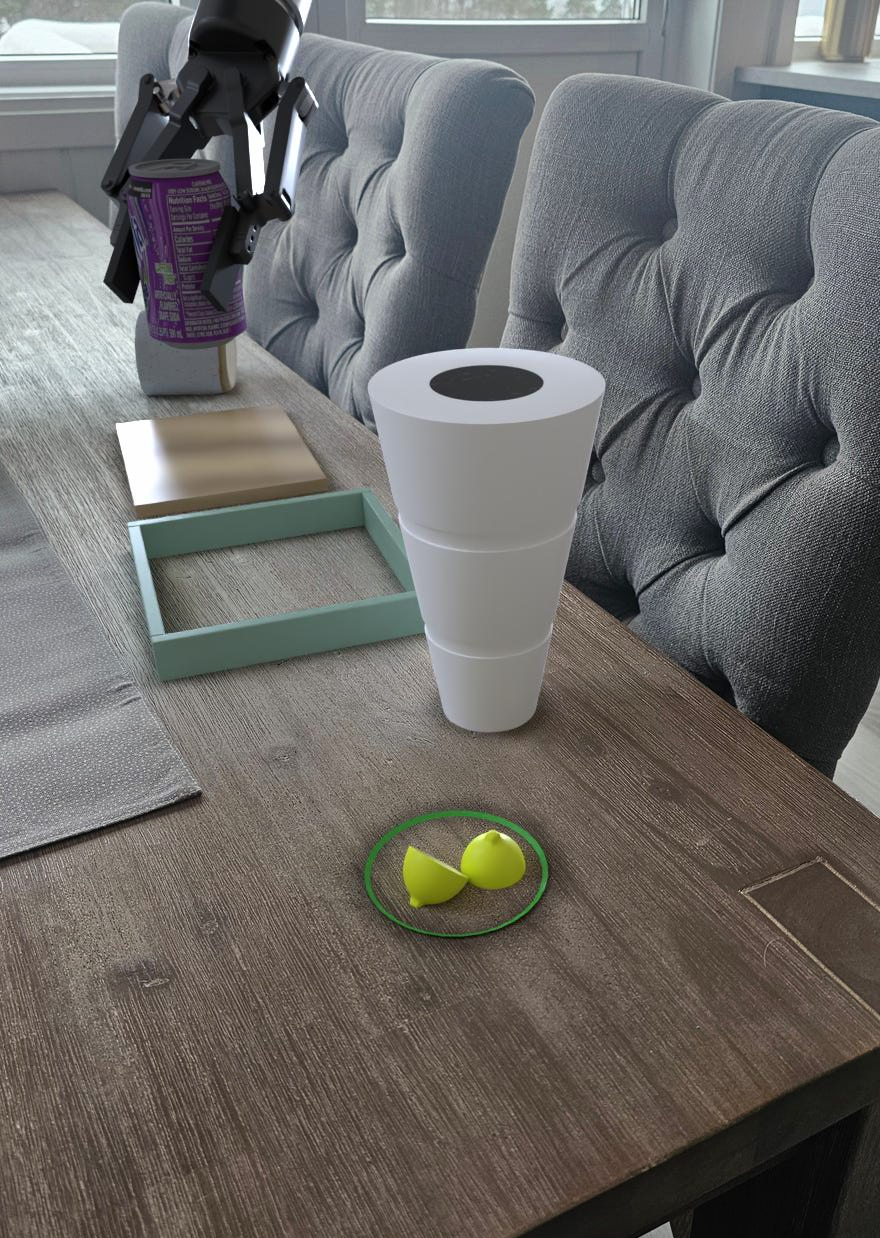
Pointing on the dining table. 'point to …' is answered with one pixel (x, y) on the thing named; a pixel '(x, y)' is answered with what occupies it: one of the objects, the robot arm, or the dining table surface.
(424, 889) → the green round dish
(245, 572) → the dining table surface
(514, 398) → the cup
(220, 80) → the robot arm
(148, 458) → the birch board
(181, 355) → the ceramic mug
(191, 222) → the beverage can
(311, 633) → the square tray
